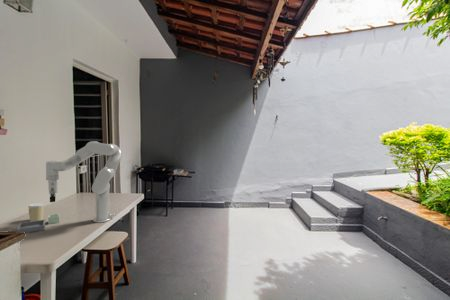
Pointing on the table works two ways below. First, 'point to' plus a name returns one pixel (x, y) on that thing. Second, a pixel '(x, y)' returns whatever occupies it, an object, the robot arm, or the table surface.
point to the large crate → (31, 226)
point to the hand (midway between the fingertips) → (52, 200)
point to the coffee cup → (36, 211)
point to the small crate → (53, 218)
